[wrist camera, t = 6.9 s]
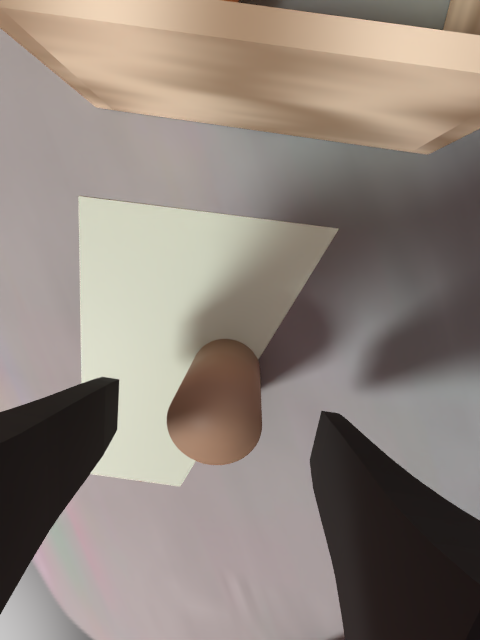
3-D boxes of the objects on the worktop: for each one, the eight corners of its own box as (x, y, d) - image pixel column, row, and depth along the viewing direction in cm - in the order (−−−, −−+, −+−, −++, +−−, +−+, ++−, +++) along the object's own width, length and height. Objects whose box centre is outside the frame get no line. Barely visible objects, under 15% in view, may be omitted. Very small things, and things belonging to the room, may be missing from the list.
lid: (405, 238, 12) (492, 236, 8) (339, 499, 16) (372, 603, 11) (86, 198, 12) (-8, 174, 8) (89, 464, 16) (23, 552, 11)
